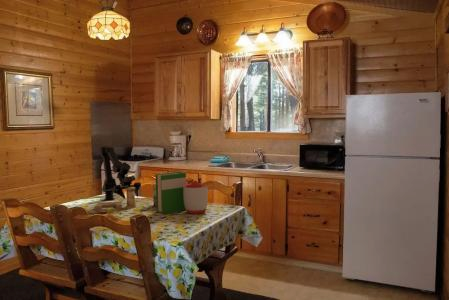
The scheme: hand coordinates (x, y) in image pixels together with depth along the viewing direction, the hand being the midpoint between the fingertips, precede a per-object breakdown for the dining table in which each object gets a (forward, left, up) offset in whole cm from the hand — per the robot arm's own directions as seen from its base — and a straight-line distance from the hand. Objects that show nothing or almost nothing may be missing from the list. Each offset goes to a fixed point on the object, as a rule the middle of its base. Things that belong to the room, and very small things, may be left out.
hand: (131, 197), depth 256 cm
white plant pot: (+25, +39, -7) cm, 47 cm away
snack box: (+2, +24, -7) cm, 25 cm away
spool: (-1, -1, -7) cm, 7 cm away
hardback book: (+18, +24, -7) cm, 31 cm away
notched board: (-6, -15, -7) cm, 17 cm away
